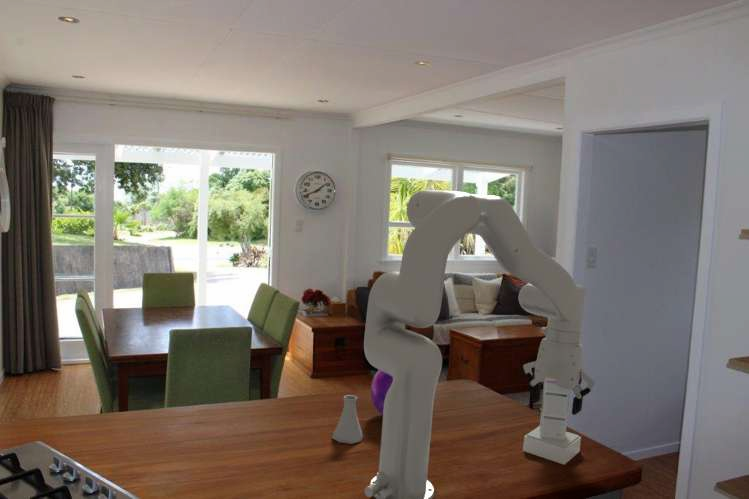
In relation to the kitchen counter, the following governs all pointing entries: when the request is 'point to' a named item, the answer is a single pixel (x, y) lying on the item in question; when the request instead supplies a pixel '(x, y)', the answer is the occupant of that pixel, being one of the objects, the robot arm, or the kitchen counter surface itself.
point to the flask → (348, 423)
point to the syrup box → (554, 410)
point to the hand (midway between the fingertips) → (555, 407)
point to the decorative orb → (380, 389)
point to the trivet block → (552, 446)
